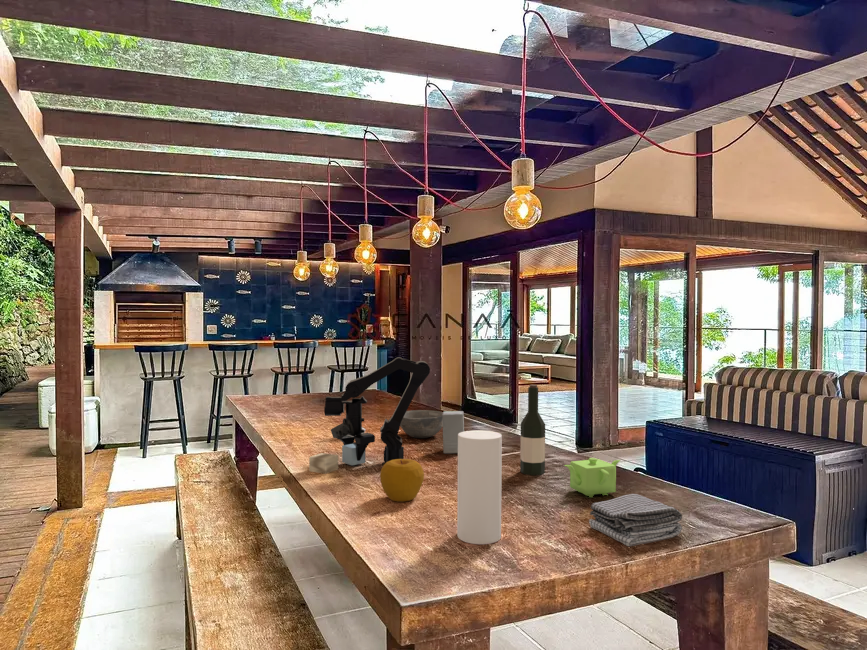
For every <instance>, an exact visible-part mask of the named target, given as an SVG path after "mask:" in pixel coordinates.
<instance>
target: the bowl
mask: <svg viewBox="0 0 867 650" xmlns="http://www.w3.org/2000/svg"><path fill="white" fill-rule="evenodd" d="M442 414H443V412H442V411H439V410H438V411H437V410H427V409H426V410H425V409H423V410H422V409H415V410H413V409H412V410H407V411H406V413H405V415H404V417H403V419H402V421H401V424H400V429H402V431H403V432H404V434H406V435H408V436H410V437H412V438H415V439H427V438H431V437H434V436H436V434H438V433H439V432H440V431H441V430H442V429H443V420H442Z"/></svg>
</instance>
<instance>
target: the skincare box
mask: <svg viewBox="0 0 867 650" xmlns="http://www.w3.org/2000/svg"><path fill="white" fill-rule="evenodd" d="M442 413H443V414H442V420H443V427H442V445H443V446H442V447H443V448H442V449H443V454H458V434H459V433H461V432H464V431H465V416H464V415H465V414H464V411H463V410H457V411H456V410H455V411H450V410H449V411H447V410H446V411H443V412H442Z"/></svg>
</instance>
